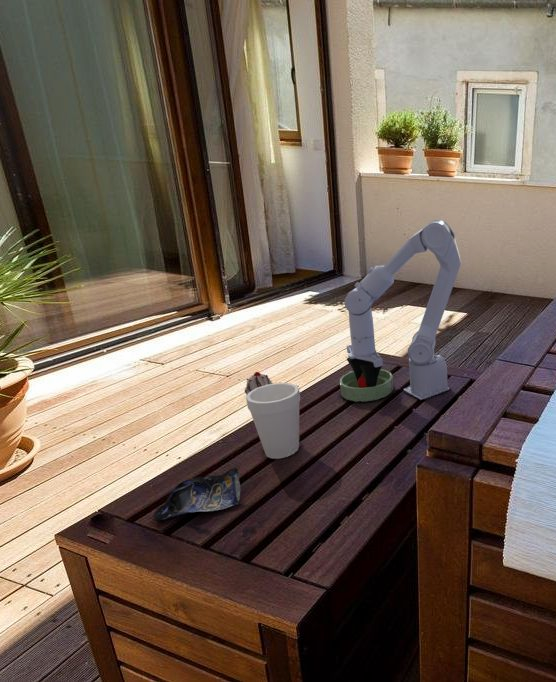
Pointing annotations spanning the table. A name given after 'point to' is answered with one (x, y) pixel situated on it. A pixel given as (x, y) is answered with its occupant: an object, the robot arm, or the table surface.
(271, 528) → the table surface
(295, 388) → the foam cup
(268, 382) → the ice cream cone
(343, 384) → the bowl
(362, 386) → the tomato
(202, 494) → the snack package
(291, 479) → the table surface
